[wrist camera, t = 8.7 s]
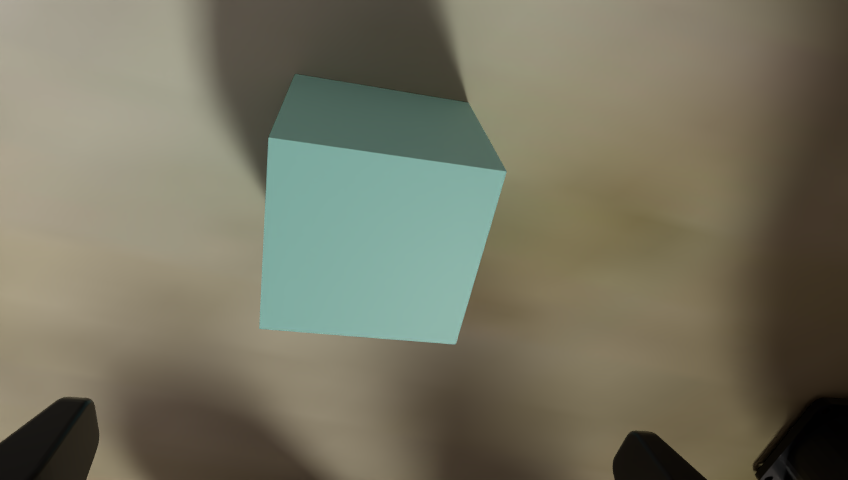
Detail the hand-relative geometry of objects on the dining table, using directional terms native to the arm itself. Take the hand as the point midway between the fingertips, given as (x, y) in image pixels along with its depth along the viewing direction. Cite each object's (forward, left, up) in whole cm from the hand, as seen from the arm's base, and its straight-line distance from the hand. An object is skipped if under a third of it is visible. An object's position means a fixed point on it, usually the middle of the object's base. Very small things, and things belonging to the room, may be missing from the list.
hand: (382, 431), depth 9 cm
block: (0, 0, -11) cm, 11 cm away
